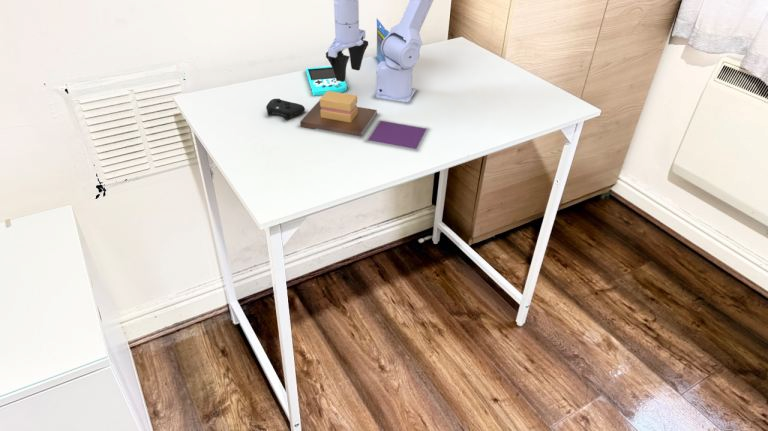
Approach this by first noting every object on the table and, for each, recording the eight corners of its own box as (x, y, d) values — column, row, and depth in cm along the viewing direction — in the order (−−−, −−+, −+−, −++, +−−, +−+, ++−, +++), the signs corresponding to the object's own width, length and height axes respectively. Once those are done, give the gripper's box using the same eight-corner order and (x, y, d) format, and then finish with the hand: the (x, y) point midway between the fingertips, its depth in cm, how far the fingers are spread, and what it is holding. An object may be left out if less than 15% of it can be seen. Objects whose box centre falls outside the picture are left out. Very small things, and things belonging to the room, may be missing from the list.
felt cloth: (367, 141, 125) (367, 140, 125) (380, 121, 133) (380, 120, 133) (416, 149, 123) (416, 148, 123) (426, 129, 130) (426, 128, 130)
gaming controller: (307, 107, 136) (297, 99, 130) (300, 127, 136) (290, 119, 130) (276, 99, 139) (264, 91, 133) (269, 118, 139) (258, 111, 133)
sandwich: (320, 117, 131) (319, 99, 128) (328, 108, 135) (327, 90, 132) (350, 122, 129) (350, 104, 126) (357, 113, 133) (357, 95, 130)
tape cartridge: (396, 67, 159) (397, 26, 151) (383, 68, 158) (384, 27, 150) (387, 56, 166) (388, 16, 158) (375, 57, 165) (376, 17, 157)
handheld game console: (312, 95, 143) (312, 91, 143) (305, 71, 155) (305, 67, 155) (348, 92, 145) (348, 87, 144) (338, 69, 157) (338, 64, 156)
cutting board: (300, 126, 130) (300, 121, 129) (319, 105, 139) (319, 100, 138) (361, 137, 127) (361, 132, 126) (376, 115, 136) (376, 109, 135)
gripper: (345, 33, 117) (347, 89, 126) (376, 14, 127) (375, 67, 136) (319, 27, 120) (322, 83, 128) (351, 9, 130) (352, 62, 138)
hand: (348, 74), depth 132 cm, fingers open, 7 cm apart
